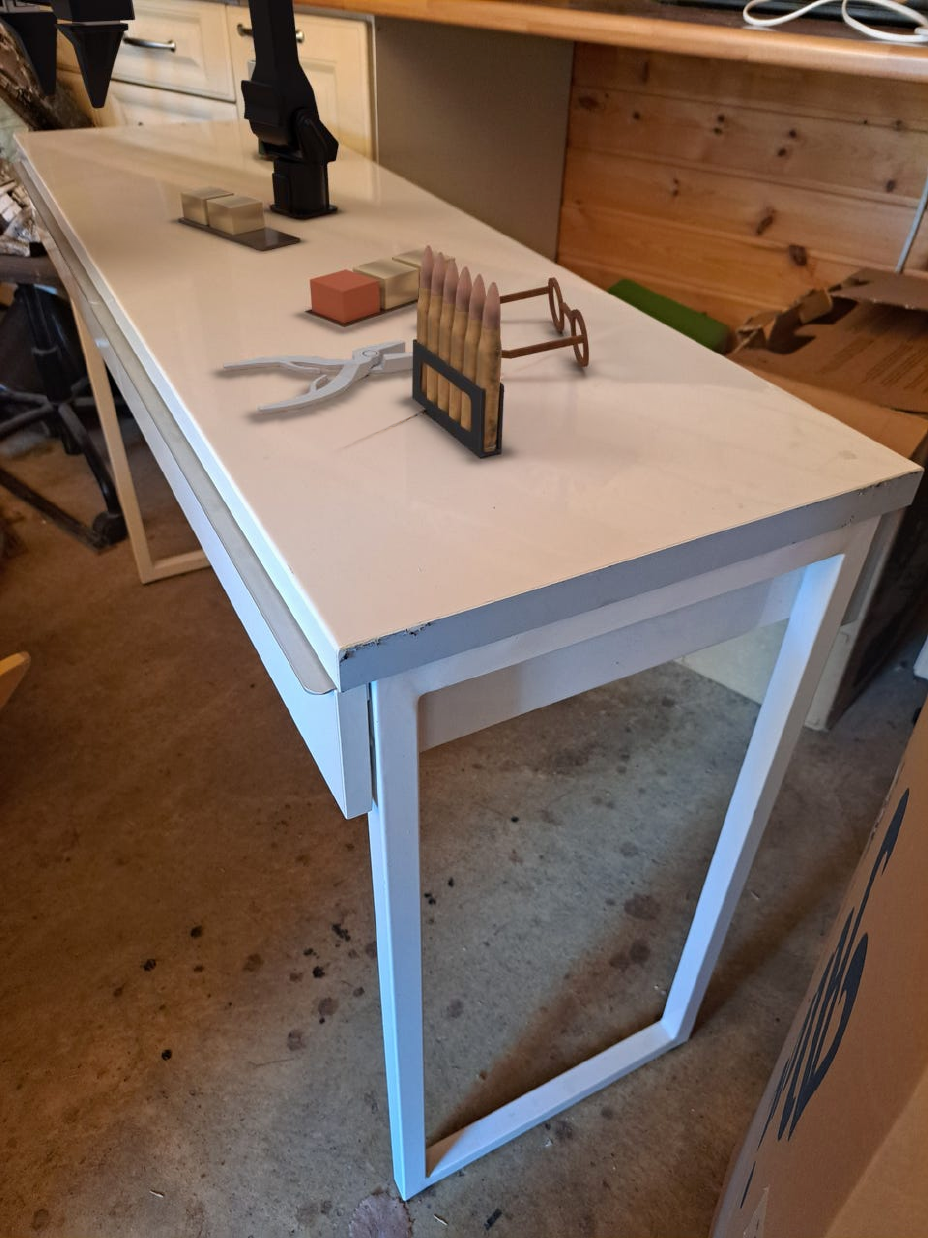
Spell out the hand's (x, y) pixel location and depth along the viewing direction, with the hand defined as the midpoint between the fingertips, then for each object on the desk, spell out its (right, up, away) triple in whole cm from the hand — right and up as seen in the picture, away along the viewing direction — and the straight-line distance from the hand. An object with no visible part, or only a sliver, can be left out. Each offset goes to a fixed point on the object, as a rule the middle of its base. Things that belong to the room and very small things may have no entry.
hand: (73, 101), depth 87 cm
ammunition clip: (+38, -37, -20) cm, 57 cm away
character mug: (+10, +21, +51) cm, 56 cm away
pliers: (+28, -32, -15) cm, 45 cm away
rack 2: (+31, -20, 0) cm, 37 cm away
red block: (+28, -22, -3) cm, 36 cm away
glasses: (+42, -28, -9) cm, 51 cm away
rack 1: (+12, -5, +18) cm, 22 cm away
